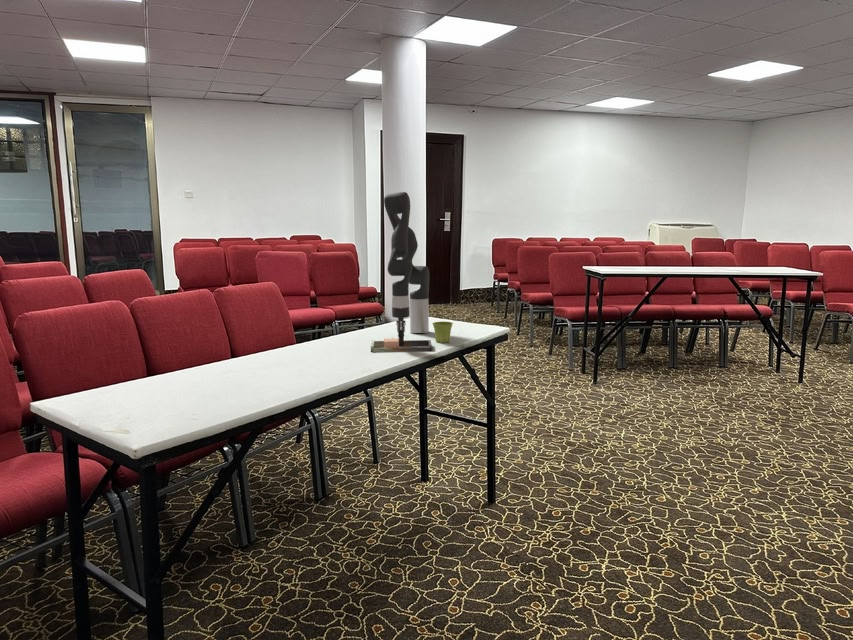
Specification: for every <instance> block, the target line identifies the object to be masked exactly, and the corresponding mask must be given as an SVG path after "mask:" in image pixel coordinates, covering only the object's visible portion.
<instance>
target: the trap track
mask: <svg viewBox="0 0 853 640" xmlns="http://www.w3.org/2000/svg"><path fill="white" fill-rule="evenodd" d="M374 346H384V340H372V341H371V344H370V353H382V352H383V353H387V352H388V353H389V352H391V353H393V351H401V352H432V350H433V344H432V341H431V339H418V340H417V339H416V340H415V339H413V340H407V339H406V340H405V339H404V345H403V346H402V347H399V348H384V347H374Z"/></svg>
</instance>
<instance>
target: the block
mask: <svg viewBox="0 0 853 640" xmlns="http://www.w3.org/2000/svg"><path fill="white" fill-rule="evenodd" d="M383 341H384V347H383V348H400V347H399V337H398V338H383Z"/></svg>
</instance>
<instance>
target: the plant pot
mask: <svg viewBox="0 0 853 640" xmlns="http://www.w3.org/2000/svg"><path fill="white" fill-rule="evenodd" d="M431 324H432V326H433V328H434V334H435V342H436V343H441V344H445V343H449V342H450V339H451V331H452V327H453V325H454V323H453V322H451V321H435V322H432V323H431Z"/></svg>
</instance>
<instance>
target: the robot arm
mask: <svg viewBox="0 0 853 640" xmlns="http://www.w3.org/2000/svg"><path fill="white" fill-rule="evenodd" d="M410 199H411V198H410V195H409V194H408V193H407V192H406V191H400V192H394V193H393V192H392V193H388V194H385V196H384V197H383V203H384V209H385V211H386V213H387V216H388V219H389V221H390V223H391V226H392V230H393V232H392V235H391V242H390V243H391V247H390V248H391V252H390V257H389V261H388V263H387V273H388V274H389V275H390V276H391V277H403V278H402V279H401V280H397V281H394V282H392V286H391V291H392V292H391V293H392V294H391V295H392V298H391V316H392V317H393V318H397V320H396V332H397V337H398V338H399V346H401V347H404V346H403V345H404V340H405V332H406V320H405V319H406V318H409V319H410V320H409V325H410V326H409V328H410V332H411V333H410V334H413V333H425V334H428V333H429V332H430V330H429V329H430V327H429V326H430V325H429V322H430V321H429V319H430V318H429V317H430V316H429V314H430V313H429V307H430V306H429V293H430V269H429V267H428V266H426V265H414V264H413V258H414V256H415V254H416V252H417V250H418V240H417V237H416V234H415V231H414V230H413V229H412V228H411V227H410V226H409V225H410V216H411V200H410ZM399 214H401V218H400V217H399ZM400 258H401V259H400ZM409 285H418V286H419V288H418V289H416V290H414V291H411V292H409V290H410V289H409Z"/></svg>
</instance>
